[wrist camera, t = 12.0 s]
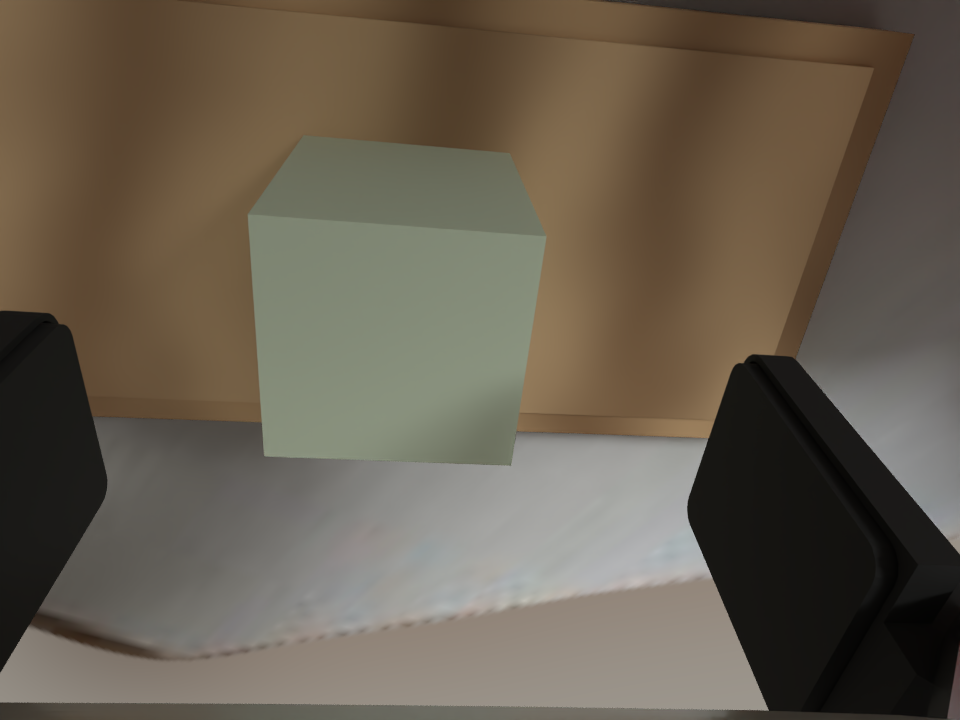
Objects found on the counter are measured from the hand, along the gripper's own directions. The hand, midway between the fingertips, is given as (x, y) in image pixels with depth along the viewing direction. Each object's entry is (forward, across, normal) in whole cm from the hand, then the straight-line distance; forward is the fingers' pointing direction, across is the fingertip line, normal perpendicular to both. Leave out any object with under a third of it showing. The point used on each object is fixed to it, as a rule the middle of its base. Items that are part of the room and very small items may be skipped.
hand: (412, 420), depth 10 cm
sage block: (+9, 0, +1) cm, 9 cm away
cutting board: (+10, +1, +1) cm, 11 cm away
